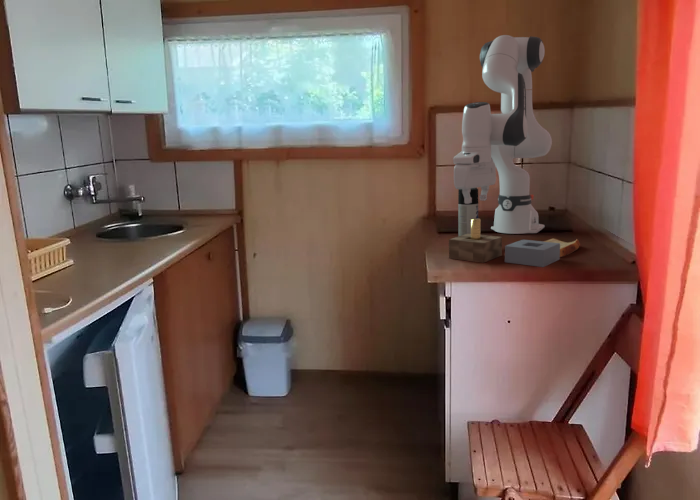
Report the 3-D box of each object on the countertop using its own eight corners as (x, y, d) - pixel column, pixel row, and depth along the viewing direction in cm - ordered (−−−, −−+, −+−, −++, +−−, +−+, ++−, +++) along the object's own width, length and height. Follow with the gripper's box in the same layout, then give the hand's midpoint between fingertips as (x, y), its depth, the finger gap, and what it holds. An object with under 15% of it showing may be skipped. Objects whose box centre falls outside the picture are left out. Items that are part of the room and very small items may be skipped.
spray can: (478, 248, 195) (478, 189, 191) (457, 248, 196) (458, 189, 192) (478, 244, 201) (478, 187, 197) (458, 244, 203) (458, 187, 198)
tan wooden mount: (468, 251, 191) (468, 233, 190) (501, 255, 183) (502, 236, 182) (448, 258, 182) (448, 239, 181) (483, 262, 174) (483, 243, 173)
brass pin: (473, 255, 185) (473, 218, 182) (481, 256, 183) (482, 219, 180) (468, 257, 182) (469, 219, 180) (477, 258, 181) (477, 220, 178)
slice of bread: (547, 259, 177) (547, 247, 176) (521, 248, 194) (521, 237, 194) (601, 255, 180) (601, 244, 179) (570, 245, 197) (571, 234, 196)
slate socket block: (522, 254, 183) (522, 239, 182) (559, 259, 175) (560, 243, 174) (504, 262, 174) (505, 245, 173) (543, 267, 166) (543, 250, 165)
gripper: (483, 155, 186) (482, 198, 189) (449, 158, 171) (449, 204, 173) (501, 155, 182) (500, 199, 184) (468, 158, 167) (468, 205, 169)
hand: (475, 201), depth 179 cm, fingers open, 8 cm apart
